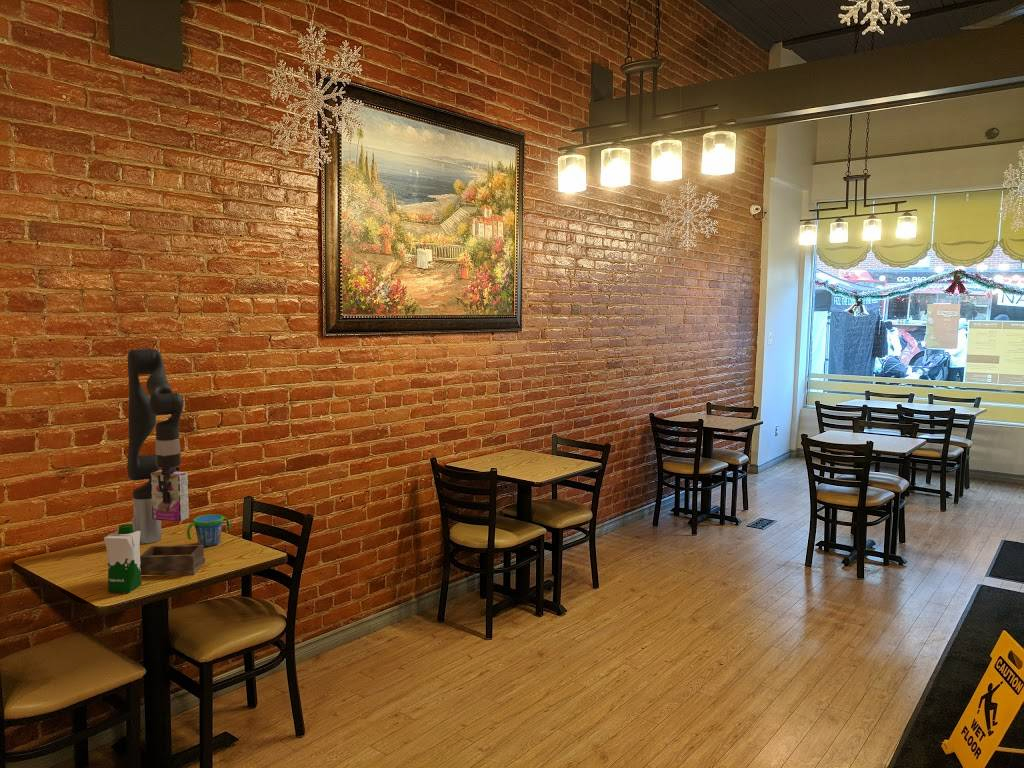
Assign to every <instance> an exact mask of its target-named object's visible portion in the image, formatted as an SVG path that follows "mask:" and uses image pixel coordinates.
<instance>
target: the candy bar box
mask: <svg viewBox="0 0 1024 768" xmlns="http://www.w3.org/2000/svg"><path fill="white" fill-rule="evenodd" d="M161 472H162V469H160V470H159V471H155V472H152V473H151V494H152V519H153V520H161V521H165V522H177V523H182V522H184V521H186V520H188V519H190V506H189V504H190V501H189V474H188V471H187V472H186V471H179V472H174V473H173V474H170V475H169V476H170V477H169V480H168V481H167V483H169V482H171V486H170V503H169V504H164V503H163V493H162V492H159V483H158V475H161ZM164 488H165V487H164Z"/></svg>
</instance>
